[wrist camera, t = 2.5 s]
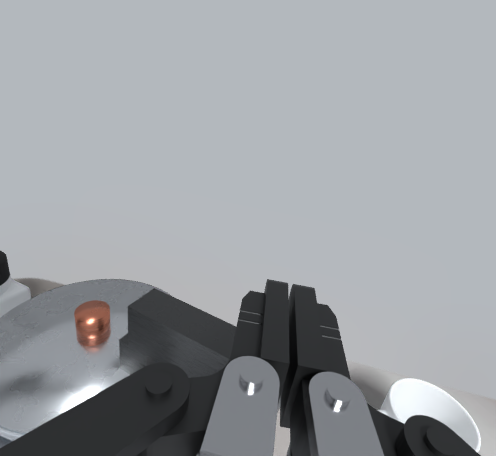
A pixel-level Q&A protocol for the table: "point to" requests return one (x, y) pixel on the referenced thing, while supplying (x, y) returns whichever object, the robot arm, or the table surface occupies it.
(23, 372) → the cooker lid
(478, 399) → the table surface
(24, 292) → the container
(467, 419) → the mug
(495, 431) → the table surface
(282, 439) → the table surface
